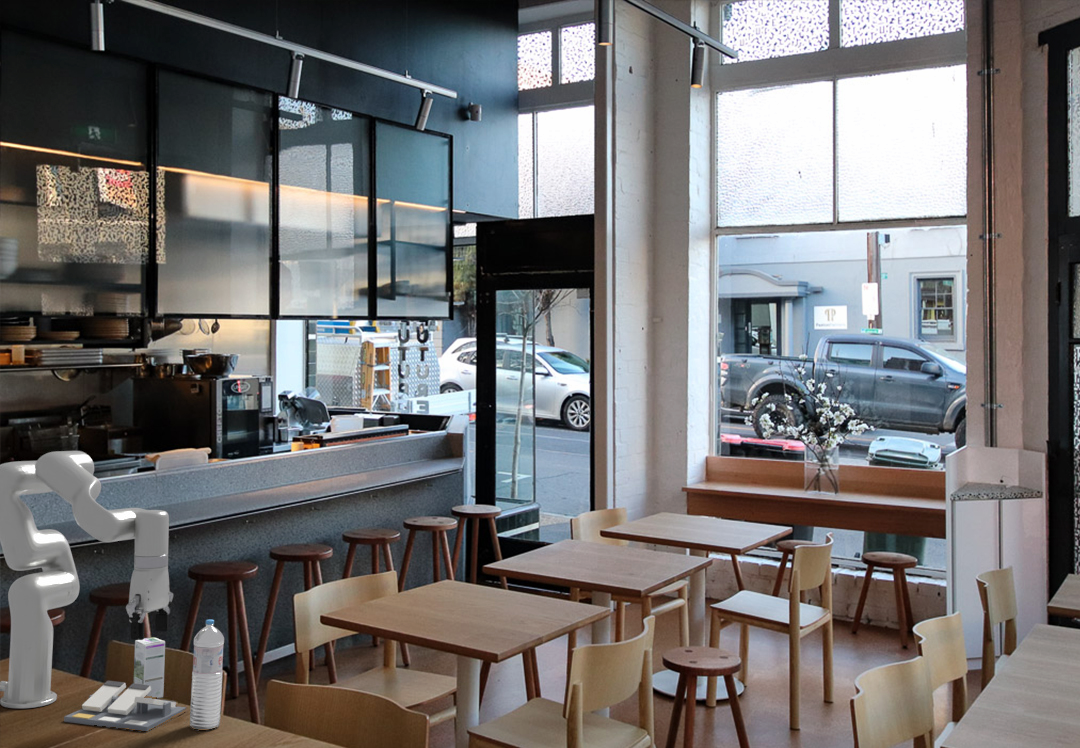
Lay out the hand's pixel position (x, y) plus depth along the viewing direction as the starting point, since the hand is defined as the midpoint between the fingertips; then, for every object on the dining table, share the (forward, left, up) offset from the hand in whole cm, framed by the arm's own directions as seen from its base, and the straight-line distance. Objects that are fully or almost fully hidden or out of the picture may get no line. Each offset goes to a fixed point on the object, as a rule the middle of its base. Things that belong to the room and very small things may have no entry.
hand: (149, 635), depth 245 cm
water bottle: (+14, +2, -21) cm, 25 cm away
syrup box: (-12, +18, -21) cm, 30 cm away
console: (-7, +2, -21) cm, 22 cm away
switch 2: (0, +3, -17) cm, 17 cm away
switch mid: (-7, +3, -17) cm, 18 cm away
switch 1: (-14, +3, -17) cm, 22 cm away
